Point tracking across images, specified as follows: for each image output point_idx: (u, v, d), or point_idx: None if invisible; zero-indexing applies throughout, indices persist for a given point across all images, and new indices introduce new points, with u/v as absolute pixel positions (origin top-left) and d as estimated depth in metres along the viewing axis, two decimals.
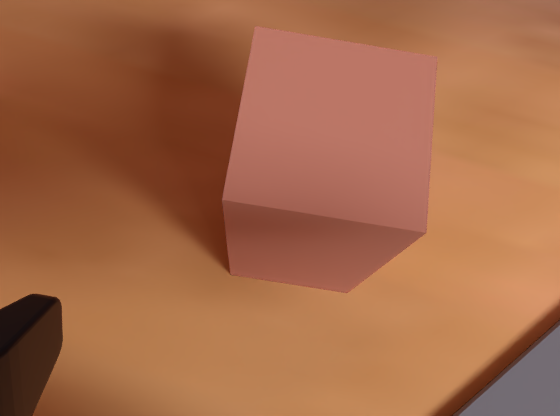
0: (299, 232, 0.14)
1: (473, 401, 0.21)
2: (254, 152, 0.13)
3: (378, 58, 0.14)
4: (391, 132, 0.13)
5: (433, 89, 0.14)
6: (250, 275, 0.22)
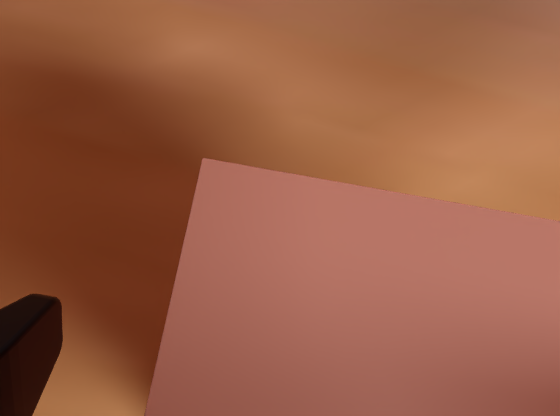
0: None
1: None
2: None
3: (471, 233, 0.06)
4: None
5: None
6: None
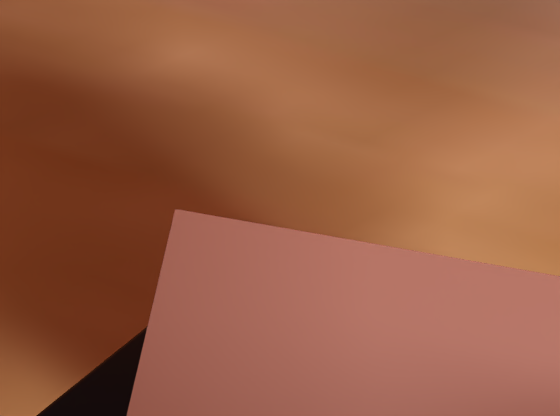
0: None
1: None
2: None
3: (507, 302, 0.05)
4: None
5: None
6: None
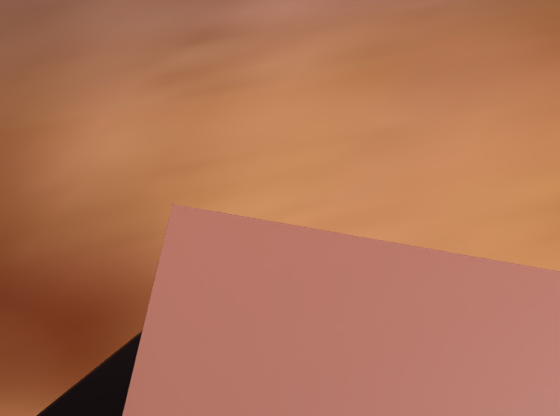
0: None
1: None
2: None
3: (504, 297, 0.05)
4: None
5: None
6: None
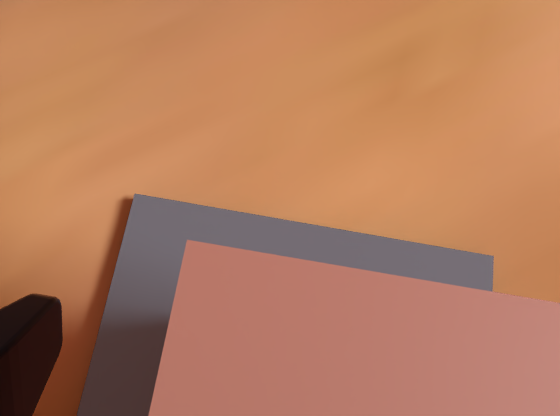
0: None
1: None
2: None
3: (449, 312, 0.07)
4: None
5: None
6: None
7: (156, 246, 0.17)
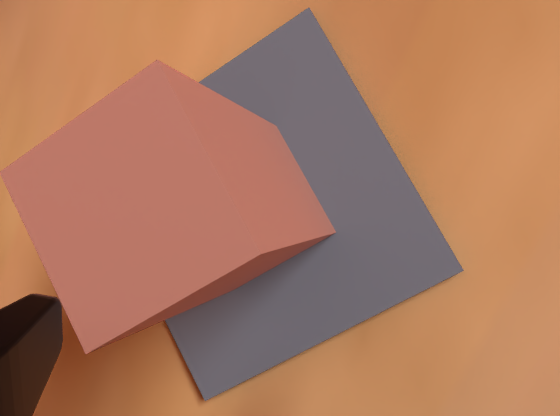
0: (188, 300, 0.14)
1: (181, 353, 0.23)
2: (79, 292, 0.12)
3: (110, 110, 0.12)
4: (170, 177, 0.12)
5: (178, 96, 0.12)
6: (246, 282, 0.21)
7: None
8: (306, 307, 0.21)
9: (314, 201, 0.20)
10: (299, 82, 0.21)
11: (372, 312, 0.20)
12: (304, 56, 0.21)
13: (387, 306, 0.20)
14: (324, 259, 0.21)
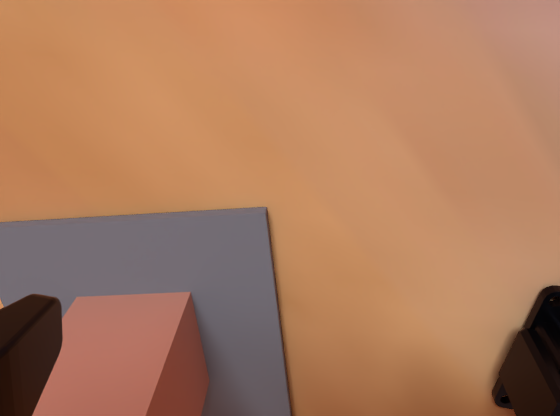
0: None
1: None
2: None
3: None
4: None
5: None
6: (204, 374, 0.23)
7: None
8: (246, 337, 0.23)
9: (152, 306, 0.21)
10: (42, 264, 0.22)
11: (272, 294, 0.22)
12: (18, 251, 0.22)
13: (271, 281, 0.21)
14: (211, 309, 0.22)
